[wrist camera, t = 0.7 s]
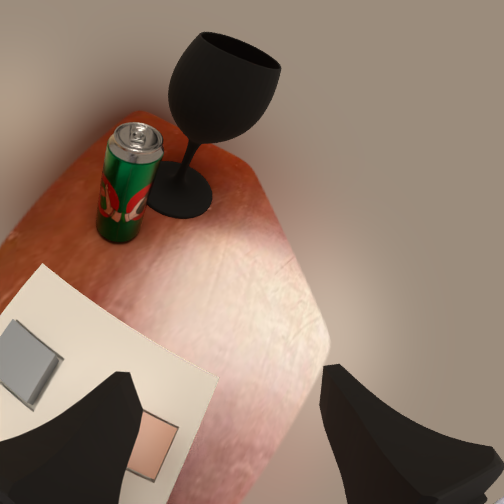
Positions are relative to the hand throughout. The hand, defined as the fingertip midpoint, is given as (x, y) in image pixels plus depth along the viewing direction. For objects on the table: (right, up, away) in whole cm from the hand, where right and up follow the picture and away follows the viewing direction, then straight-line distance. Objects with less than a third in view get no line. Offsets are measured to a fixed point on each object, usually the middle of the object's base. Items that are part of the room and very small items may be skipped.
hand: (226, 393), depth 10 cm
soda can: (-14, +8, +20) cm, 26 cm away
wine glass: (-9, +13, +28) cm, 32 cm away
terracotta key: (-7, -8, +7) cm, 13 cm away
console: (-13, -7, +8) cm, 17 cm away
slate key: (-16, -3, +6) cm, 17 cm away
